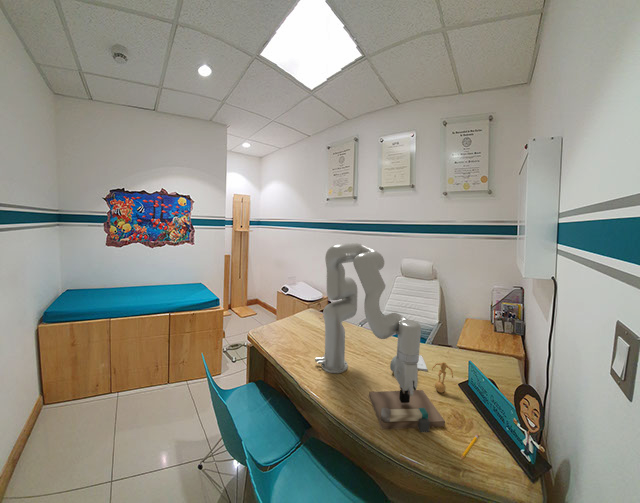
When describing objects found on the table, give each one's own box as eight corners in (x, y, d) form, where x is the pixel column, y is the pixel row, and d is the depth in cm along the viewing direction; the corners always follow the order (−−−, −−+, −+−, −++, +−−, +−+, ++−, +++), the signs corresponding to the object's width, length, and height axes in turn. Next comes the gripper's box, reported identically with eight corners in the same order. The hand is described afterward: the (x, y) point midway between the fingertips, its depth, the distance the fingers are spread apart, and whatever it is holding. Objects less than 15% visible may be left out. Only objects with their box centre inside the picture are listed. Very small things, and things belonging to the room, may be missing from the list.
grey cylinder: (404, 382, 108) (406, 365, 108) (389, 373, 115) (390, 357, 114) (418, 374, 115) (419, 358, 114) (402, 365, 121) (403, 350, 120)
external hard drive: (422, 358, 129) (427, 372, 117) (405, 356, 131) (409, 370, 118) (422, 355, 129) (427, 369, 117) (405, 353, 130) (409, 366, 118)
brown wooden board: (381, 429, 83) (381, 424, 83) (368, 396, 99) (369, 391, 99) (444, 426, 85) (445, 421, 85) (422, 394, 101) (422, 389, 100)
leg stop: (420, 432, 82) (421, 422, 82) (418, 428, 84) (418, 419, 83) (429, 432, 82) (429, 422, 82) (426, 428, 84) (427, 418, 84)
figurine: (427, 389, 104) (429, 362, 103) (432, 382, 108) (434, 356, 107) (449, 398, 98) (451, 370, 97) (453, 391, 103) (455, 364, 101)
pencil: (478, 437, 81) (478, 435, 81) (461, 462, 72) (462, 459, 72) (476, 435, 82) (476, 434, 81) (458, 459, 73) (459, 457, 73)
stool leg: (382, 422, 83) (382, 414, 83) (379, 415, 87) (380, 407, 86) (428, 421, 84) (428, 413, 84) (423, 414, 87) (424, 406, 87)
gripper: (390, 344, 97) (387, 387, 99) (406, 367, 82) (402, 417, 84) (408, 344, 97) (405, 387, 100) (428, 366, 83) (423, 416, 85)
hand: (404, 401), depth 92 cm, fingers closed
